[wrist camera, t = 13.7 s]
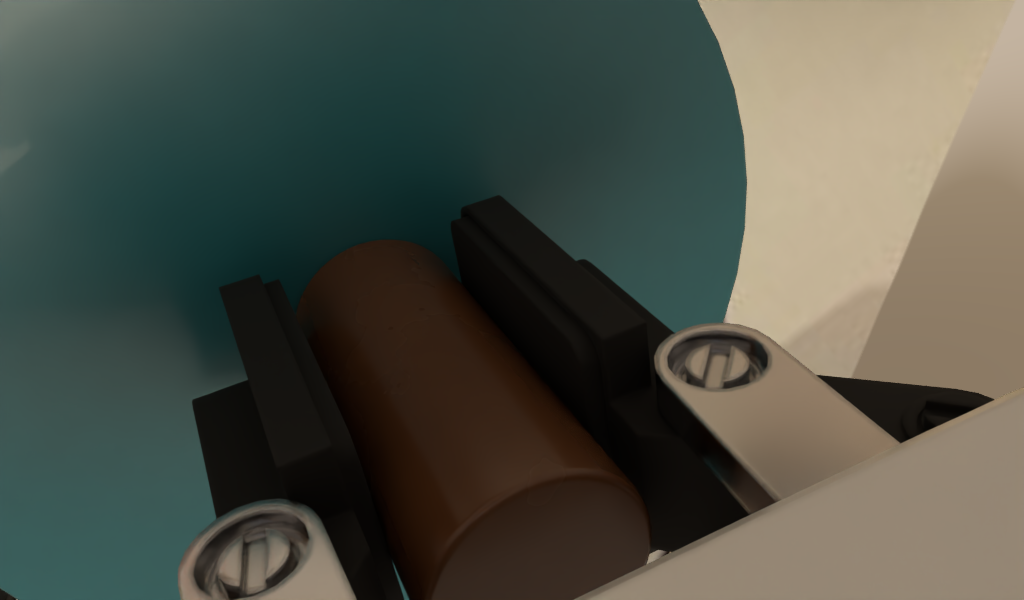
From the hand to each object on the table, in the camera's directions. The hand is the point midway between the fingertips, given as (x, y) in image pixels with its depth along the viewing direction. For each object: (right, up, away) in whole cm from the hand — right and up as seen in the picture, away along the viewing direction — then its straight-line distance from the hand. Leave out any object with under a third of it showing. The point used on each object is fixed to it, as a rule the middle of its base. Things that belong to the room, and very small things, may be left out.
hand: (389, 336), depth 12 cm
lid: (0, +1, +1) cm, 1 cm away
